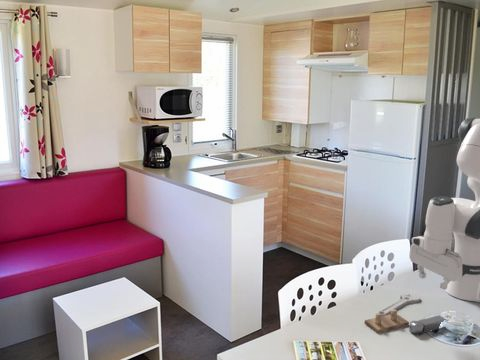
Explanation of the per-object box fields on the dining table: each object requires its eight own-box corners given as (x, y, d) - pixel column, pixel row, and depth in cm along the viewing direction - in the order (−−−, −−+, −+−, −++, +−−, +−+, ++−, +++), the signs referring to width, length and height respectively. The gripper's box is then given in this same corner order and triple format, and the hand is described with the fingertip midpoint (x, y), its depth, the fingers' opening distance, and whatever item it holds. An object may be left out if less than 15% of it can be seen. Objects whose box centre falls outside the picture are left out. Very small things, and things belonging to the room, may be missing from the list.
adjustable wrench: (382, 319, 171) (382, 314, 171) (368, 312, 176) (368, 307, 176) (422, 300, 186) (422, 296, 185) (408, 294, 191) (408, 290, 190)
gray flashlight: (436, 322, 169) (437, 314, 168) (446, 328, 165) (447, 320, 164) (406, 329, 163) (407, 322, 162) (415, 336, 159) (416, 328, 158)
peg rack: (395, 316, 173) (396, 304, 172) (408, 325, 166) (409, 312, 165) (364, 323, 167) (365, 311, 166) (377, 332, 161) (378, 320, 160)
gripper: (469, 254, 149) (464, 294, 152) (421, 234, 168) (417, 270, 170) (455, 256, 147) (450, 297, 150) (408, 236, 165) (404, 273, 168)
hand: (432, 282), depth 160 cm, fingers open, 8 cm apart
